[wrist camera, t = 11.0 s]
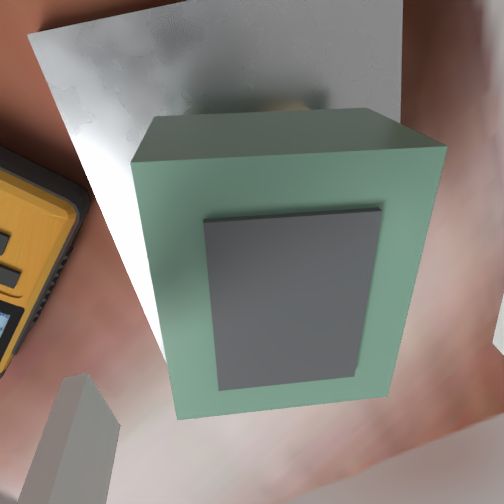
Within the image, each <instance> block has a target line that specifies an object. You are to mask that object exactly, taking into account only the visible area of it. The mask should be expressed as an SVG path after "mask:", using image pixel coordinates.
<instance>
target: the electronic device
mask: <svg viewBox="0 0 504 504" xmlns="http://www.w3.org/2000/svg"><path fill="white" fill-rule="evenodd" d="M89 204H90V198H89V196H88V193H87V191H86V190H85V189H84V188H83V187H81V186H80V185H78V184H76V183H74V182H72V181H70V180H68V179H66V178H64V177H62V176H60V175H58V174H56V173H54V172H52V171H50V170H48V169H46V168H44V167H42V166H40V165H38V164H36V163H34V162H32V161H30V160H28V159H26V158H24V157H22V156H20V155H18V154H16V153H14V152H12V151H10V150H8V149H6V148H4V147H2V146H0V379H1V377H2V376H3V375H4V373H5V371H6V369H7V367H8V366H9V364H10V362H11V360H12V358H13V356H14V355H15V354H17V352H18V350H19V348H20V347H21V345H22V343H23V341H24V339H25V337H26V335H27V333H28V331H29V329H30V327H31V325H33V324H35V322H36V320H37V319H38V317H39V315H40V313H41V311H42V309H43V307H44V304H45V303H46V301H47V299H48V296H49V295H50V293H51V291H52V288H53V287H54V285H55V283H56V280H57V279H58V277H59V275H60V272H61V271H62V269H63V267H64V264H65V263H66V261H67V259H68V256H69V254H70V253H71V251H72V249H73V248H72V246H71V244H72V242H73V240H74V238H75V236H76V234H77V232H78V230H79V228H80V226H81V224H82V222H83V220H84V218H85V216H86V214H87V212H88V210H89Z"/></svg>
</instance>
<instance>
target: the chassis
mask: <svg viewBox="0 0 504 504" xmlns="http://www.w3.org/2000/svg"><path fill="white" fill-rule="evenodd" d="M402 25H403V0H188V1H183V2H179V3H174V4H169V5H164V6H160V7H155V8H150V9H145V10H141V11H136V12H131V13H126V14H122V15H117V16H112V17H108V18H103V19H98V20H93V21H89V22H84V23H79V24H74V25H70V26H65V27H60V28H55V29H51V30H46V31H41V32H37V33H32V34H27V36H28V39H29V41H30V43H31V46H32V48H33V50H34V53H35V55H36V57H37V60H38V62H39V64H40V67H41V69H42V72H43V74H44V76H45V79H46V81H47V83H48V86H49V88H50V90H51V93H52V95H53V97H54V100H55V102H56V105H57V107H58V109H59V112H60V114H61V116H62V119H63V121H64V123H65V126H66V128H67V130H68V133H69V135H70V137H71V140H72V142H73V145H74V147H75V149H76V152H77V154H78V156H79V159H80V161H81V163H82V166H83V168H84V170H85V173H86V175H87V178H88V180H89V182H90V185H91V187H92V189H93V192H94V194H95V196H96V199H97V201H98V203H99V206H100V208H101V210H102V213H103V215H104V218H105V220H106V222H107V225H108V227H109V229H110V232H111V234H112V236H113V239H114V241H115V243H116V246H117V248H118V251H119V253H120V255H121V258H122V260H123V262H124V265H125V267H126V269H127V272H128V274H129V276H130V279H131V281H132V284H133V286H134V288H135V291H136V293H137V295H138V298H139V300H140V302H141V305H142V307H143V309H144V312H145V314H146V316H147V319H148V321H149V324H150V326H151V328H152V331H153V333H154V335H155V338H156V340H157V342H158V345H159V347H160V349H161V352H162V354H163V357H164V359H165V361H166V356H165V350H164V345H163V339H162V334H161V329H160V323H159V318H158V312H157V307H156V301H155V296H154V290H153V285H152V279H151V274H150V268H149V263H148V257H147V252H146V246H145V241H144V236H143V230H142V225H141V219H140V214H139V208H138V203H137V197H136V192H135V186H134V181H133V175H132V170H131V164H130V162H131V160H132V158H133V156H134V154H135V152H136V151H137V149H138V147H139V145H140V143H141V141H142V139H143V137H144V135H145V133H146V131H147V130H148V128H149V126H150V124H151V122H152V120H153V118H154V116H174V115H198V114H222V113H247V112H271V111H295V110H319V109H344V108H369V109H371V110H373V111H375V112H377V113H379V114H381V115H383V116H386V117H388V118H390V119H392V120H394V121H396V122H398V123H400V118H401V72H402ZM166 362H167V361H166Z"/></svg>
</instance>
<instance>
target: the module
mask: <svg viewBox="0 0 504 504" xmlns="http://www.w3.org/2000/svg"><path fill="white" fill-rule="evenodd" d="M447 148H448V146H446V145H444V144H442V143H440V142H438V141H436V140H434V139H432V138H430V137H428V136H425V135H423V134H421V133H419V132H417V131H415V130H413V129H411V128H409V127H407V126H404V125H402V124H400V123H398V122H396V121H394V120H392V119H390V118H388V117H386V116H383V115H381V114H379V113H377V112H375V111H373V110H371V109H369V108H344V109H319V110H295V111H271V112H247V113H222V114H198V115H174V116H154V118H153V120H152V122H151V124H150V126H149V128H148V130H147V131H146V133H145V135H144V137H143V139H142V141H141V143H140V145H139V147H138V149H137V151H136V152H135V154H134V156H133V158H132V160H131V162H130V164H131V170H132V175H133V181H134V186H135V192H136V197H137V203H138V208H139V214H140V219H141V225H142V230H143V236H144V241H145V246H146V252H147V257H148V263H149V268H150V274H151V279H152V285H153V290H154V296H155V301H156V307H157V312H158V318H159V323H160V329H161V334H162V339H163V345H164V350H165V356H166V361H167V367H168V372H169V378H170V383H171V389H172V394H173V400H174V405H175V411H176V416H177V420H183V419H192V418H201V417H210V416H219V415H228V414H237V413H246V412H255V411H263V410H272V409H281V408H290V407H299V406H308V405H317V404H326V403H335V402H343V401H352V400H361V399H370V398H379V397H388V393H389V389H390V385H391V381H392V376H393V372H394V368H395V364H396V360H397V356H398V352H399V347H400V343H401V339H402V335H403V331H404V327H405V322H406V318H407V314H408V310H409V306H410V302H411V297H412V293H413V289H414V285H415V281H416V277H417V273H418V268H419V264H420V260H421V256H422V252H423V248H424V243H425V239H426V235H427V231H428V227H429V223H430V218H431V214H432V210H433V206H434V202H435V198H436V194H437V189H438V185H439V181H440V177H441V173H442V169H443V164H444V160H445V156H446V152H447Z"/></svg>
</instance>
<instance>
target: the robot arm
mask: <svg viewBox="0 0 504 504" xmlns="http://www.w3.org/2000/svg"><path fill="white" fill-rule="evenodd" d="M493 344H494V345H495V346H496V347H497V348H498V350H499V351H500V352H501V353H502V354H503V355H504V295H503V299H502V303H501V308H500V312H499V316H498V321H497V325H496V330H495V334H494V338H493ZM119 430H120V424H119V423H118V421H117V419H116V418H115V416H114V415H113V413H112V411H111V410H110V408H109V406H108V405H107V403H106V402H105V400H104V398H103V397H102V395H101V393H100V392H99V390H98V388H97V387H96V385H95V384H94V382H93V380H92V379H91V377H90V375H89V374H88V373H84V374H79V375H75V376H70V377H66V378H63V380H62V382H61V385H60V388H59V390H58V393H57V396H56V399H55V401H54V404H53V407H52V409H51V412H50V415H49V418H48V420H47V423H46V426H45V428H44V431H43V434H42V437H41V439H40V442H39V445H38V447H37V450H36V453H35V456H34V458H33V461H32V464H31V466H30V469H29V472H28V475H27V477H26V480H25V483H24V485H23V488H22V491H21V494H20V496H19V499H18V502H17V504H106V500H107V495H108V490H109V484H110V479H111V473H112V468H113V463H114V457H115V452H116V446H117V441H118V436H119Z"/></svg>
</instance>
